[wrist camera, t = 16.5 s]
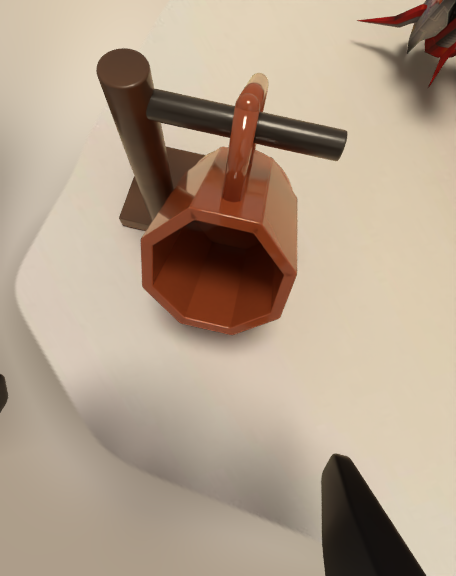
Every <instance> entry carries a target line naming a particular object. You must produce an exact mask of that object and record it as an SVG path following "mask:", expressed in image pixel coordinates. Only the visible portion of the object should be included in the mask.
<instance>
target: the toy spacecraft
mask: <svg viewBox="0 0 456 576" xmlns="http://www.w3.org/2000/svg"><path fill="white" fill-rule="evenodd" d="M357 21H362V22H368V23H374V24H380V25H387V26H393V27H402V26H405V25H408V24H411V23H414V25H413V29H412V32H411V35H410V38H409V42H408V49H407V53H408V52H409V51H410V50H411V49H413V48H414V47H415V46H416V45H417V44H418V43H419V42H420V41H422V40H425V52H426V53H428V54H430V55H432V56H435V57H437V58H440V60H439V63H438V65H437V67H436V70H435V72H434V75H433V77H432V80H431V82H430V84H429V86H430V85H431V83H432V82H433V80H434V79H435V77H436V76H437V74H438V73H439V71H440V69H441V68H442V66H443V65H444V63H445V62H446V60H447V59H448V58H450V57H454V56H456V0H426V1H425V3H424V4H422V5H419V6H417V7H415V8H413V9H410V10H408V11H406V12H404V13H401V14H399V15H397V16H392V17H383V18H375V19H366V20H357ZM428 88H429V87H428Z"/></svg>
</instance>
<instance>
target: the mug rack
mask: <svg viewBox="0 0 456 576" xmlns="http://www.w3.org/2000/svg"><path fill="white" fill-rule="evenodd" d="M97 76H98V79H99V81H100V84H101V87H102V89H103V92H104V95H105V98H106V100H107V103H108V106H109V108H110V111H111V114H112V116H113V119H114V122H115V124H116V127H117V130H118V133H119V135H120V138H121V141H122V143H123V146H124V149H125V151H126V154H127V157H128V159H129V162H130V165H131V168H132V170H133V173H134V178H133V181H132V184H131V187H130V189H129V192H128V195H127V198H126V200H125V203H124V206H123V209H122V211H121V214H120V217H119V219H120V221H121V223H122V224H123V226H128V227H132V228H136V229H141V230H145V231H146V230H147V229H148V227H149V226H150V224H151V223H152V221H153V220H154V218H155V217H156V216H157V214H158V213H159V211H160V210H161V208H162V207H163V205H164V204H165V202H166V201H167V199H168V198H169V196H170V195H171V193H172V192H173V190H174V189H175V187H176V186H177V184H178V183H179V181H180V180H181V178H182V177H183V175H184V174H185V173H186V172H187V171H188V170H190V169H191V168H193V167H194V166H195V165H196V164H197V163H198V161H200V160H201V159H202V158H203V157H204V156H206V155H201V154H197V153H192V152H188V151H183V150H179V149H174V148H170V147H166V146H165V141H164V136H163V131H162V126H161V123H165V124H169V125H174V126H178V127H183V128H187V129H192V130H196V131H201V132H206V133H210V134H215V135H219V136H224V137H228V138H230V136H231V129H232V123H233V116H234V109H235V106H232V105H227V104H223V103H218V102H214V101H209V100H205V99H200V98H195V97H191V96H186V95H182V94H177V93H173V92H168V91H163V90H159V89H154V85H153V80H152V75H151V70H150V65H149V62H148V61H147V59H146V58H145V57H144V56H143V55H142V54H141V53H139V52H137V51H135V50H132V49H116V50H112V51H110V52H108V53H106V54H105V55H103V56H102V57H101V59H100V60H99V62H98V64H97ZM346 140H347V131H346V130H342V129H337V128H333V127H328V126H324V125H319V124H314V123H310V122H305V121H301V120H296V119H292V118H287V117H282V116H278V115H273V114H269V113H264V112H260V111H259V116H258V121H257V126H256V131H255V136H254V141H253V143H255V144H260V145H265V146H269V147H274V148H278V149H283V150H287V151H292V152H296V153H301V154H305V155H310V156H314V157H319V158H324V159H328V160H333V161H338V160H339V158H340V157H341V155H342V153H343V150H344V147H345V144H346Z"/></svg>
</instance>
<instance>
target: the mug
mask: <svg viewBox="0 0 456 576" xmlns="http://www.w3.org/2000/svg"><path fill="white" fill-rule="evenodd" d="M267 90H268V79H267V77H266V76H265V75H264V74H262V73H256V74H254V75H253V76H252V77H251V78H250V80H249V82H248V83H247V85H246V86H245V88H244V90H243V91H242V93H241V94H240V96H239V97H238V99H237V101H236V104H235V109H234V116H233V123H232V129H231V136H230V142H229V147H220V148H219V149H218V150H216V151H213V152H211V153H209V154H208V155H206V156H204V157H203V158H202V159H201V160H200V161H198V163H197V164H196V165H195V166H194V167H193V168H191V169H190V170H188V171H187V172H186V173H185V174H184V175H183V177H182V178H181V180H180V181H179V183H178V184H177V186H176V187H175V189H174V190H173V192H172V193H171V195H170V196H169V198H168V199H167V201H166V202H165V204H164V205H163V207H162V208H161V210H160V211H159V213H158V214H157V216H156V217H155V218H154V220H153V221H152V223H151V224H150V226H149V227H148V229H147V230H146V232H145V233H144V235H143V236H142V238H141V262H142V287H143V288H144V289H145V290H146V291H147V292H148V293H149V294H150V295H151V296H152V297H153V298H154V299H155V300H156V301H157V302H158V303H159V304H160V305H162V306H163V307H164V308H165V309H166V310H167V311H168V312H169V313H170V314H171V315H172V316H173V317H174V318H175V319H176V320H177V321H178V322H179V323H181V324H185V325H190V326H194V327H198V328H203V329H207V330H211V331H216V332H220V333H224V334H229V335H235V334H238V333H240V332H243V331H246V330H249V329H252V328H254V327H257V326H260V325H263V324H266V323H268V322H271V321H274V320H277V319H279V318H280V317H281V314H282V312H283V309H284V307H285V304H286V302H287V299H288V296H289V294H290V291H291V289H292V286H293V284H294V281H295V279H296V276H297V197H296V195H295V194H294V192H293V190H292V187H291V184H290V181H289V179H288V177H287V175H286V174H285V172H284V171H283V169H282V168H281V167H280V166H279V165H278V164H277V163H276V162H275V161H274V159H273V158H272V157H268V156H267V155H265V154H264V153H261V152H259V151H257V150H255V148H256V144H255V143H253V141H254V136H255V131H256V126H257V121H258V116H259V111H260V112H263V110H264V105H265V100H266V95H267Z"/></svg>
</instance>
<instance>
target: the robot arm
mask: <svg viewBox="0 0 456 576" xmlns="http://www.w3.org/2000/svg"><path fill="white" fill-rule="evenodd" d="M7 399H8V392H7V387H6V381H5V377H4V376H3V375H2V374H0V412H1V411H2V409H3V408H4V406H5V404H6V402H7ZM321 491H322V547H323V558H324V567H325V576H426V574H425V573H424V571H423V570H422V568H421V567H420V565H419V564H418V562H417V560H416V559H415V557H414V556H413V554H412V553H411V551H410V550H409V548H408V547H407V545H406V543H405V542H404V540H403V539H402V537H401V536H400V534H399V533H398V531H397V530H396V528H395V526H394V525H393V523H392V522H391V520H390V519H389V517H388V516H387V514H386V513H385V511H384V509H383V508H382V506H381V505H380V503H379V502H378V500H377V499H376V497H375V496H374V494H373V493H372V491H371V489H370V488H369V486H368V485H367V483H366V482H365V480H364V479H363V477H362V476H361V474H360V472H359V471H358V469H357V468H356V466H355V465H354V463H353V462H352V460H351V459H350V458H349V457H347V456H344V455H340V454H333V455H332V456H331V457H330V459H329V461H328V463H327V465H326V467H325V468H324V470H323V473H322V479H321Z"/></svg>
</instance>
